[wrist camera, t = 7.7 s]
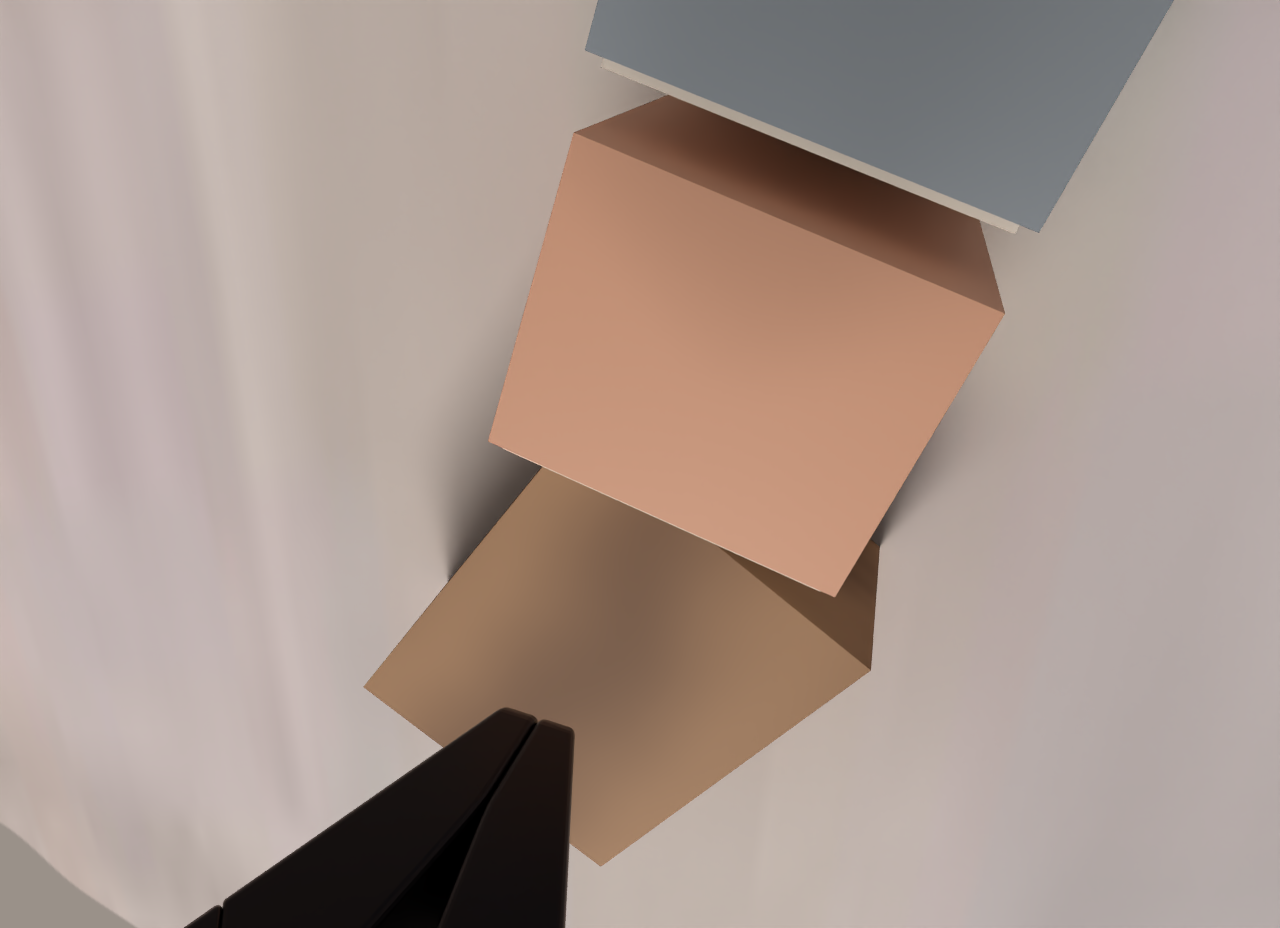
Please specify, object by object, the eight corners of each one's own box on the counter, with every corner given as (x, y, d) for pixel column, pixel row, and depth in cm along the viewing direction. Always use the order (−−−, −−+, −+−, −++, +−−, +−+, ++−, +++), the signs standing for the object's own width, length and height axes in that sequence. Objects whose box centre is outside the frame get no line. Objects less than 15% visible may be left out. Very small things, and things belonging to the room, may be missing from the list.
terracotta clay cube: (977, 213, 16) (1005, 313, 11) (853, 439, 19) (830, 604, 14) (679, 90, 17) (573, 132, 12) (600, 328, 19) (486, 448, 14)
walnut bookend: (880, 541, 20) (871, 670, 16) (650, 731, 25) (600, 866, 21) (641, 344, 19) (573, 429, 16) (451, 577, 24) (363, 686, 20)
